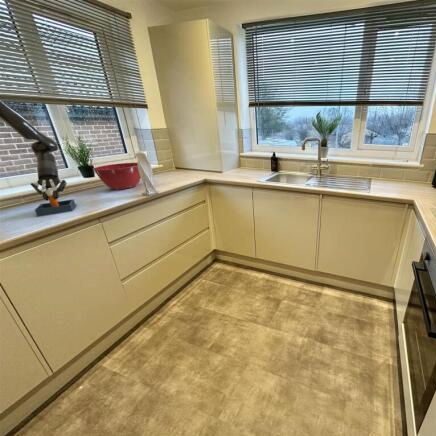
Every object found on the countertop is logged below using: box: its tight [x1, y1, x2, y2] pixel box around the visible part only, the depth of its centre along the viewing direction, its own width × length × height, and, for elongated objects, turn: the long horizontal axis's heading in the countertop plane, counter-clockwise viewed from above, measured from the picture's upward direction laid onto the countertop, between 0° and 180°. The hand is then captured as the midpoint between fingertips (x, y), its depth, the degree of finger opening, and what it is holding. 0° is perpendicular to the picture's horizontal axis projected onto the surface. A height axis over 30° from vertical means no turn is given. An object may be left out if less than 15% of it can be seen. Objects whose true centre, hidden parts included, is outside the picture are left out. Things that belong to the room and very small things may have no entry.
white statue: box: [133, 148, 160, 197], centre depth 148 cm, size 8×8×28 cm
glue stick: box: [45, 189, 59, 207], centre depth 122 cm, size 3×3×8 cm
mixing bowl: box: [92, 162, 141, 191], centre depth 168 cm, size 28×28×16 cm
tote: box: [34, 199, 77, 217], centre depth 124 cm, size 13×11×4 cm
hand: (51, 198), depth 120 cm, fingers closed on glue stick, 3 cm apart
